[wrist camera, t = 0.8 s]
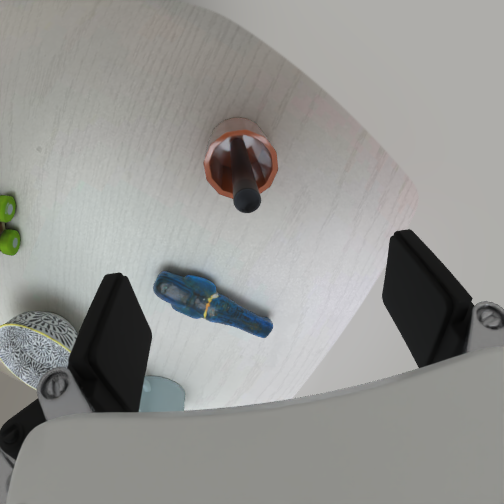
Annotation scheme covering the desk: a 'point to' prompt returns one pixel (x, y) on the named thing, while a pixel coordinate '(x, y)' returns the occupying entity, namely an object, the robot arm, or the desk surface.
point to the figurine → (207, 303)
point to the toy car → (7, 239)
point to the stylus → (243, 178)
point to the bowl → (36, 344)
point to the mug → (161, 395)
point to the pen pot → (220, 159)
